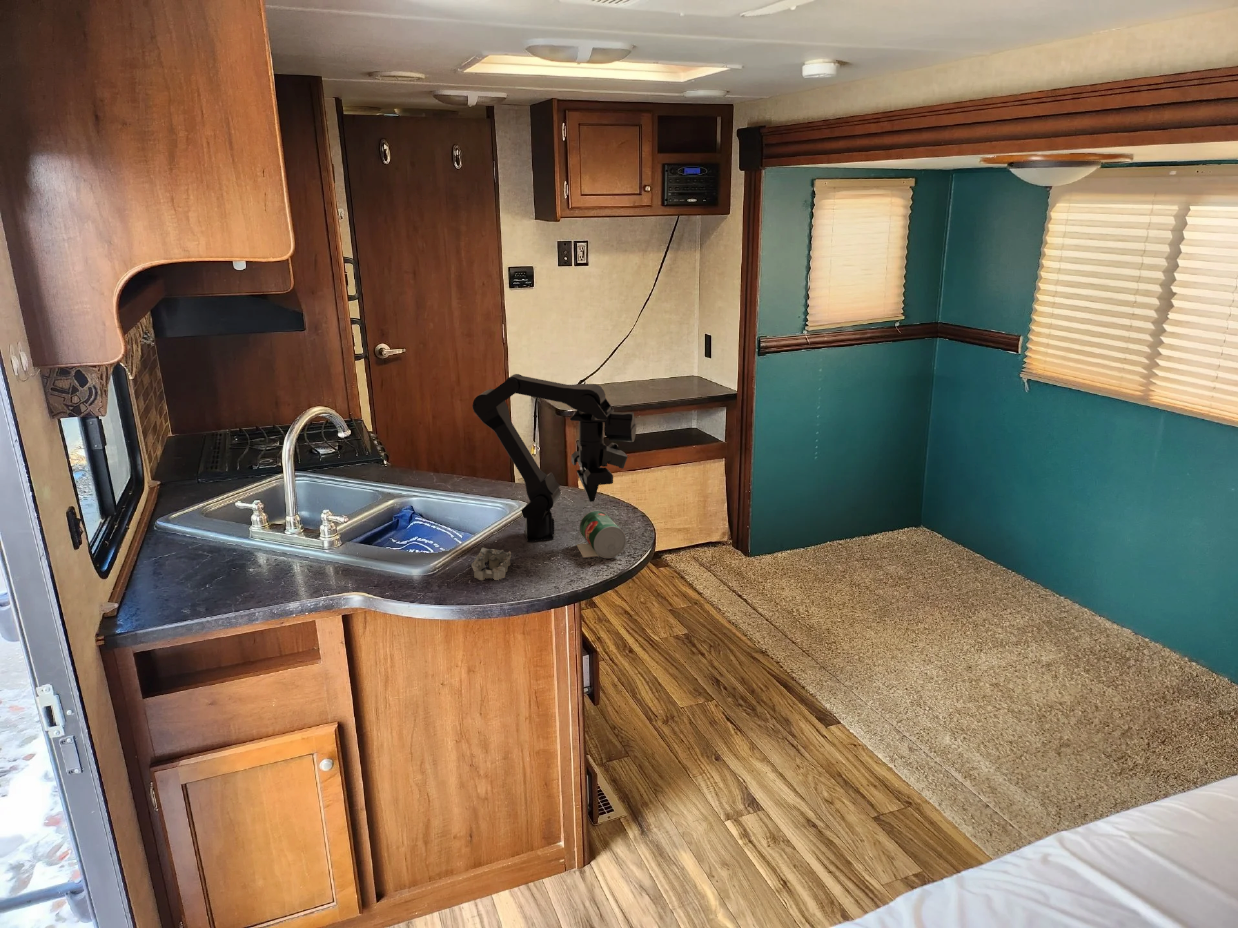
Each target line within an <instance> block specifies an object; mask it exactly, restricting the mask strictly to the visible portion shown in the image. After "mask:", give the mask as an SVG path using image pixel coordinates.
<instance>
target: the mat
mask: <svg viewBox="0 0 1238 928" xmlns="http://www.w3.org/2000/svg"><path fill="white" fill-rule="evenodd" d="M576 547H577V549H578V550H579V552H580V554H581V556H582V558H592V557H594V558H595V557H600V556H599V555H598V554H597V553H596V551H595V550H594V549H593V548H592V547H591V545H590V544H589V543H588V542H587V543H577V545H576Z"/></svg>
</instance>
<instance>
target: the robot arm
mask: <svg viewBox="0 0 1238 928" xmlns="http://www.w3.org/2000/svg"><path fill="white" fill-rule="evenodd" d="M513 395H522V396H527V397H534V398H537V399H542V400H547V401H553V402H557V403H562V404H564V405H567V406H569V407H570V408H572V409H573V410H575V413H574V414H572V416H571V417H569V419H570V421H571V422H578V436H579V437H578V440H577V441H576V443H577V445H576V446H577V447H578V451H577V450H576V451H574V452H573V453H572V454H571V464H572V465H573V466H576V465H577V463H578V466H579V469H577V470H576V473H577V476H578V478H579V481H580V483H581V485H582V487H583V489H584V492H585V494H586V496H587V499H588V501H589V502H590V503H593V502H595V500H596V495H597V492H598V489H599V487H600V486H603V485H612V484H614V475H613V473H612V472H611V471H610V469H608V468H607V467H608V465H611V466H614V467H618V468H619V469H624V468H625V465H626V464H627V463H626V462H627V460H628V457H629V456H628V455H627V454H626V453H625V452H624V451H623V450H621V449H620V446H619V445H618V444H617V443H614V442H629V443H634V441H635V439H636V435H637V434H636V433H637V423H636V418H635V413H634V412H633V411H626V412H623V411H622V412H620V411H618V412H617V411H615V409H614V408H613V406H612V405H611V404H610V401H608V399H607V398H606V393H605V390H604V389H603V388H602V386H601V385H599V384H596V383H595V384H594V383H579V384H578V383H577V384H576V383H575V384H566V383H561V382H556V381H552V380H551V381H550V380H546V379H539V378H534V377H530V376H524V375H521V374H519V373H514V374H512V375H510V376H508V377H507V379H506V380H505V381H504V382H503V383H501V384H500V385H498V386H496V387H494V388H490V389H486V390H485V391H483V392H482V393H480V394H478V395H477V396H475V398H474V400H473V402H472V407H471V408H472V410H473V412H474V413H475V415H476V416H477V417H478V419H479V420H480V421H481V422H482V423H483V424H484V425H486V426H487V427H488V428H489V429H490V430H492V431H493V432H494V433H495V435H496V437H497V438H498V440H499V441H500V443H501V445H502V446H503V448H504V450H505V451H506V453H507V454H508V457H509V458H510V459H511V461H512V463H513V464H514V466H515V468H516V469H517V471H518V473H519V474H520V476H521V478H522V479H523V481H524V485H525V490H526V495H527V498H528V500H529V501H528V502H527V504H526V505H525V506H524V507H522V509H521V513H522V516H523V519H524V530H523V533H524V537H525V539H526V541H527V542H529V543H530V542H539V541H540V542H541V541H551V540H554V538H555V537H554V535H555V518H554V517H553V513H552V511H551V509H553V507H554V506H555V505H556V503H558V501H559V499H560V498H561V497H560V496H561V493H562V492H561V489H560V487H561V484H560V483H558V481H557V480H556V478H555V475H554V474H553V472H549V473H548V474H546V473H545V472H544V471H542V470H541V468H540V467H539V465H538V464H537V462H536V460H535V459H534V457H533V456H532V454H531V452H530V450H529V449H528V447H527V446H526V444H525V442H524V440H523V439H522V437H521V436H520V434H519V432H518V431H517V429H516V427H515V426H514V424H513V422H512V420H511V417H510V410H509V406H508V405H507V402H506V401H507V400H508V399H510V398H511V397H513ZM604 436H605V437H606V439H608V440H609V441H613V442H611V443H610V444H609V445H608V446H607V445H606V444H605V442H604Z"/></svg>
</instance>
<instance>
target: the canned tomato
mask: <svg viewBox="0 0 1238 928" xmlns="http://www.w3.org/2000/svg"><path fill="white" fill-rule="evenodd" d="M579 533H580V535H581V536H582V537H583V539H584V540H585V541H586V542H587V543H589V544H590V545H591V547H592V548H593V549H594V550H595V551H596V553H597V554H598V555H599V556H598V557H600V558H602V559H603V558H604V559H613V558H616V557H617V556H619V555H620V554H621V553H622V552H623V551H624V549H625V547H626V544H627V538H626V537H627V536H626V534H625V532H624V531H623V529H621V527H620V526H618V525H617V524H616V523H615V521H614V520H613V519H612V518H611V517H610V516H609V515H608V514H607V513H606V512H604V511H602V510H597V509H596V510H591V511H589V512H587V513H586V514H585V515H583V516H582V518H581V520H580V522H579Z"/></svg>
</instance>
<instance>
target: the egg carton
mask: <svg viewBox="0 0 1238 928" xmlns="http://www.w3.org/2000/svg"><path fill="white" fill-rule="evenodd" d="M480 549H481V550H480V551H479V553H478V554H477V555H476V558H475V559H474V561H473V562H472V563H471V568H472V570H473V578H474V579H475V578H476V579H477V580H478V581H484V580H486V579H492V578H493V579H494V580H498V581H500V580H502V579H501V578H504V579H505V578H506V573H507V572H508V568H509V566H511V559H512V558H511V557H512V552H511V551H510V550H509V551H508V552H505V551H504V549H500V550H499V549H494V548H491V549H489V548H486V547H481V548H480ZM487 562H488V566H489V569H486V568H485V567H486V566H485V564H486V563H487ZM484 568H485V569H484ZM482 569H483V570H482ZM485 578H486V579H485ZM493 579H492V580H493ZM499 579H500V580H499ZM494 580H493V581H494Z"/></svg>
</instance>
